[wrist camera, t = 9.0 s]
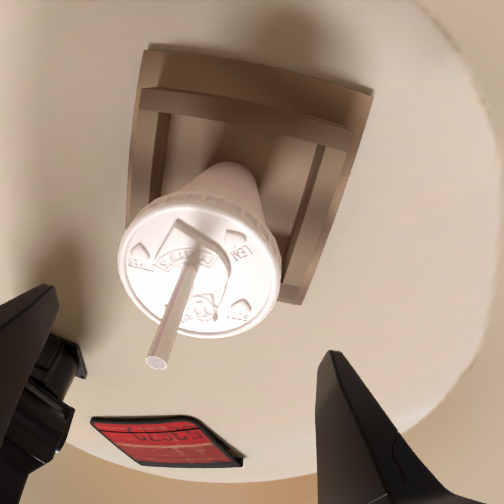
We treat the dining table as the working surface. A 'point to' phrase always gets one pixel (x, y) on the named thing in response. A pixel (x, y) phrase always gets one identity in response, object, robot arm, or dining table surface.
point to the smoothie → (202, 259)
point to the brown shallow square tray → (249, 144)
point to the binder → (167, 442)
